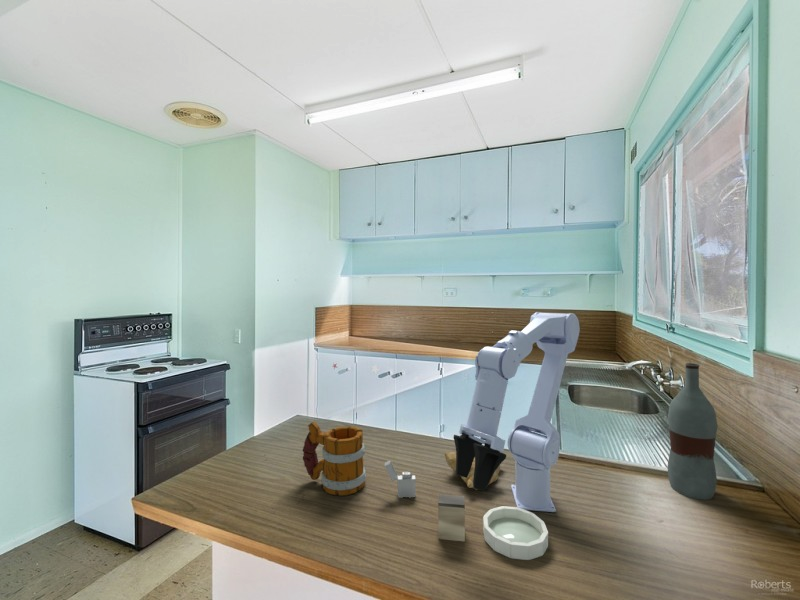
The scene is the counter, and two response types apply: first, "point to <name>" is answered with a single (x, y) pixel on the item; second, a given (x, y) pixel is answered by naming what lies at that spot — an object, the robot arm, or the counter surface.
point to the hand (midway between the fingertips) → (469, 482)
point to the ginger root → (451, 462)
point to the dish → (515, 532)
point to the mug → (336, 459)
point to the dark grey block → (451, 517)
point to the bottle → (692, 440)
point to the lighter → (402, 481)
